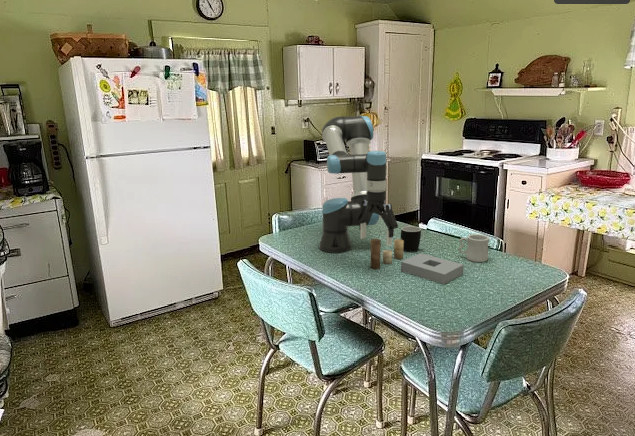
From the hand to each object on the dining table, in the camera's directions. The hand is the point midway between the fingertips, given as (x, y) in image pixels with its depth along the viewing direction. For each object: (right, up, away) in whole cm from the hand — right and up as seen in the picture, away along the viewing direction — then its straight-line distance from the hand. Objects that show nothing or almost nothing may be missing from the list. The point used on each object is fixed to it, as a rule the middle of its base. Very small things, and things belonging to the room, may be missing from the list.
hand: (375, 241), depth 188 cm
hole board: (+22, -12, -3) cm, 25 cm away
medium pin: (+12, -8, +14) cm, 20 cm away
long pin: (0, -11, +3) cm, 12 cm away
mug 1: (+18, -5, +25) cm, 32 cm away
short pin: (+6, -9, +9) cm, 14 cm away
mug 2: (+44, -8, +11) cm, 46 cm away
